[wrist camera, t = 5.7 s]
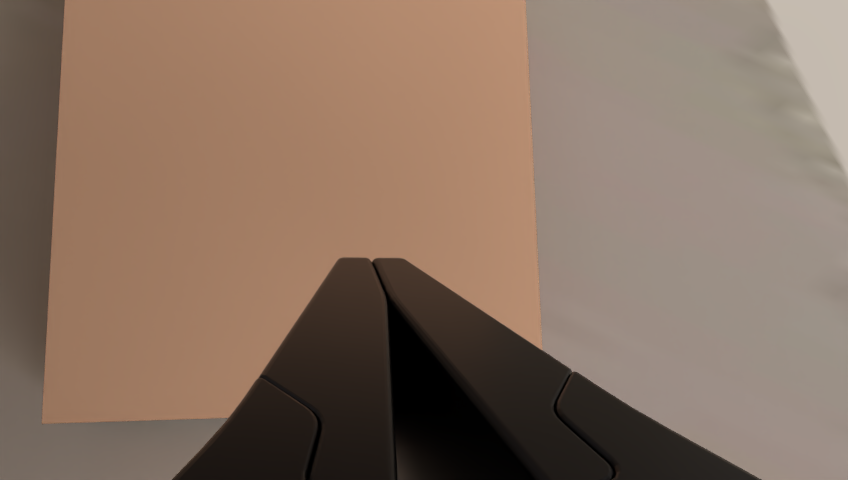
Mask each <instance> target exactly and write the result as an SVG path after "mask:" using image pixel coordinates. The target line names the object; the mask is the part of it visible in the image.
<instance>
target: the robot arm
mask: <svg viewBox="0 0 848 480" xmlns="http://www.w3.org/2000/svg"><path fill="white" fill-rule="evenodd" d="M172 480H761V479H759V478H757V477H756V476H754V475H752V474H750V473H748V472H747V471H745V470H743V469H741V468H739V467H738V466H736V465H734V464H732V463H730V462H728V461H727V460H725V459H723V458H721V457H719V456H718V455H716V454H714V453H712V452H710V451H708V450H707V449H705V448H703V447H701V446H699V445H698V444H696V443H694V442H692V441H690V440H689V439H687V438H685V437H683V436H681V435H679V434H678V433H676V432H674V431H672V430H670V429H669V428H667V427H665V426H663V425H662V424H660V423H658V422H656V421H655V420H653V419H651V418H649V417H648V416H646V415H644V414H642V413H641V412H639V411H637V410H635V409H634V408H632V407H630V406H629V405H627V404H626V403H624V402H623V401H621V400H619V399H618V398H616V397H615V396H613V395H611V394H610V393H608V392H607V391H605V390H603V389H602V388H600V387H599V386H597V385H596V384H594V383H593V382H591V381H590V380H588V379H587V378H585V377H584V376H582V375H581V374H579V373H578V372H572V371H571V369H570V368H568V367H567V366H565V365H564V364H562V363H561V362H559V361H558V360H556V359H555V358H553V357H552V356H550V355H549V354H547V353H546V352H544V351H543V350H541V349H540V348H538V347H536V346H535V345H533V344H532V343H530V342H529V341H527V340H526V339H524V338H523V337H521V336H520V335H518V334H517V333H515V332H514V331H512V330H511V329H509V328H508V327H506V326H505V325H503V324H502V323H500V322H499V321H497V320H496V319H494V318H493V317H491V316H490V315H488V314H487V313H485V312H484V311H482V310H481V309H479V308H478V307H476V306H475V305H473V304H472V303H470V302H469V301H467V300H466V299H464V298H463V297H461V296H460V295H458V294H457V293H455V292H454V291H452V290H451V289H449V288H448V287H446V286H445V285H443V284H442V283H440V282H439V281H437V280H435V279H434V278H432V277H431V276H429V275H428V274H426V273H425V272H423V271H422V270H420V269H419V268H417V267H416V266H414V265H413V264H411V263H410V262H408V261H407V260H405V259H403V258H375V259H374V260H373V261H372V262H371V260H370V259H369V258H359V257H342V258H339V259H338V260H337V261H336V263H335V264H334V266H333V267H332V269H331V270H330V272H329V273H328V275H327V276H326V278H325V279H324V281H323V282H322V284H321V285H320V287H319V288H318V290H317V291H316V293H315V294H314V296H313V297H312V299H311V300H310V302H309V303H308V305H307V306H306V308H305V309H304V310H303V312H302V313H301V315H300V316H299V318H298V319H297V321H296V322H295V324H294V325H293V327H292V328H291V330H290V331H289V333H288V334H287V336H286V337H285V339H284V340H283V342H282V343H281V345H280V346H279V348H278V349H277V351H276V352H275V354H274V355H273V357H272V358H271V360H270V361H269V363H268V364H267V365H266V367H265V368H264V370H263V371H262V373H261V374H260V376H259V378H258V379H256V380H255V382H254V383H253V385H252V386H251V388H250V389H249V391H248V392H247V394H246V395H245V397H244V398H243V399H242V401H241V402H240V403H239V405H238V406H237V407H236V409H235V410H234V411H233V413H232V414H231V415H230V417H229V418H228V419H227V421H226V422H225V423H224V424H223V426H222V427H221V428H220V429H219V430H218V431H217V432H216V433H215V434H214V436H213V437H212V438H211V439H210V440H209V441H208V442H207V443H206V444H205V446H204V447H203V448H202V449H201V450H200V451H199V452H198V453H197V454H196V455H195V456H194V457H193V458H192V459H191V460H190V461H189V462H188V464H187V465H186V466H185V467H184V468H183V469H182V470H181V471H180V472H179V473H178V474H177V475H176V476H175V477H174V478H173V479H172Z"/></svg>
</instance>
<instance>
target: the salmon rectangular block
mask: <svg viewBox="0 0 848 480" xmlns="http://www.w3.org/2000/svg"><path fill="white" fill-rule="evenodd" d="M342 257H359V258H369V259H370V260H371V262H372V261H373V260H374V259H375V258H403V259H405V260H407V261H408V262H410V263H411V264H413V265H414V266H416V267H417V268H419V269H420V270H422V271H423V272H425V273H426V274H428V275H429V276H431V277H432V278H434V279H435V280H437V281H439V282H440V283H442V284H443V285H445V286H446V287H448V288H449V289H451V290H452V291H454V292H455V293H457V294H458V295H460V296H461V297H463V298H464V299H466V300H467V301H469V302H470V303H472V304H473V305H475V306H476V307H478V308H479V309H481V310H482V311H484V312H485V313H487V314H488V315H490V316H491V317H493V318H494V319H496V320H497V321H499V322H500V323H502V324H503V325H505V326H506V327H508V328H509V329H511V330H512V331H514V332H515V333H517V334H518V335H520V336H521V337H523V338H524V339H526V340H527V341H529V342H530V343H532V344H533V345H535V346H536V347H538V348H540V349H541V350H542V334H541V314H540V293H539V272H538V251H537V230H536V209H535V189H534V168H533V147H532V126H531V105H530V84H529V64H528V43H527V22H526V1H525V0H65V6H64V25H63V43H62V61H61V79H60V98H59V116H58V134H57V153H56V171H55V189H54V208H53V226H52V244H51V263H50V281H49V299H48V318H47V336H46V354H45V373H44V391H43V409H42V424H52V423H83V422H114V421H145V420H176V419H207V418H229V417H230V415H231V414H232V413H233V411H234V410H235V409H236V407H237V406H238V405H239V403H240V402H241V401H242V399H243V398H244V397H245V395H246V394H247V392H248V391H249V389H250V388H251V386H252V385H253V383H254V382H255V380H256V379H258V378H259V376H260V374H261V373H262V371H263V370H264V368H265V367H266V365H267V364H268V363H269V361H270V360H271V358H272V357H273V355H274V354H275V352H276V351H277V349H278V348H279V346H280V345H281V343H282V342H283V340H284V339H285V337H286V336H287V334H288V333H289V331H290V330H291V328H292V327H293V325H294V324H295V322H296V321H297V319H298V318H299V316H300V315H301V313H302V312H303V310H304V309H305V308H306V306H307V305H308V303H309V302H310V300H311V299H312V297H313V296H314V294H315V293H316V291H317V290H318V288H319V287H320V285H321V284H322V282H323V281H324V279H325V278H326V276H327V275H328V273H329V272H330V270H331V269H332V267H333V266H334V264H335V263H336V261H337V260H338V259H339V258H342Z"/></svg>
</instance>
